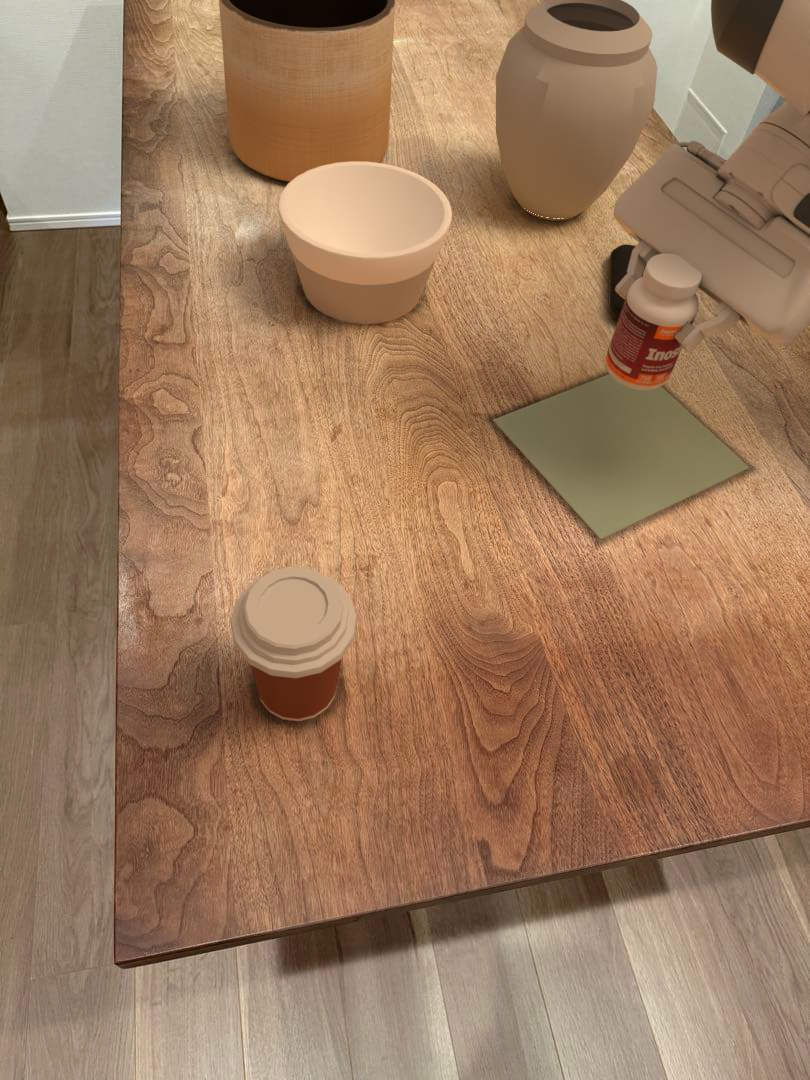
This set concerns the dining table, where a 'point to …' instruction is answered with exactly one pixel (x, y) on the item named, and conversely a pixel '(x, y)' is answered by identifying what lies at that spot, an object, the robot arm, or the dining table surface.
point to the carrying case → (618, 277)
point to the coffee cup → (294, 638)
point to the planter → (307, 82)
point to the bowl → (364, 237)
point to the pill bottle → (653, 323)
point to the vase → (572, 102)
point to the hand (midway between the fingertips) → (651, 321)
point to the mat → (619, 451)
